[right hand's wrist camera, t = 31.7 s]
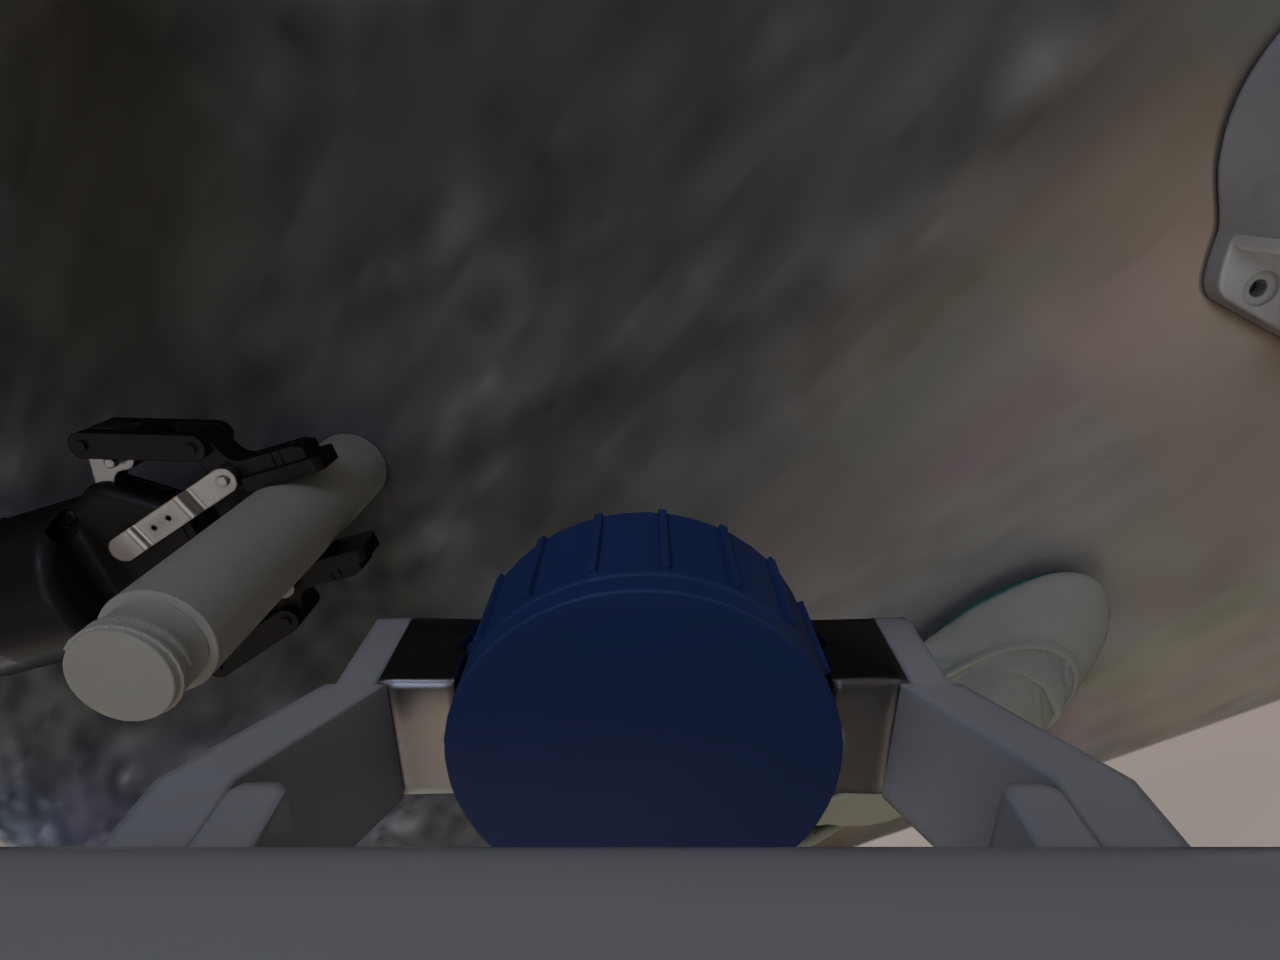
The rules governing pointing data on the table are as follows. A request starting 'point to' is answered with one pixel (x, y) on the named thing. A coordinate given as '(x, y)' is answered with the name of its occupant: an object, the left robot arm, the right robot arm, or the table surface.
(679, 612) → the lid
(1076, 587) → the ballet flat
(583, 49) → the table surface
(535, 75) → the table surface
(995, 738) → the right robot arm
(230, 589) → the bottle
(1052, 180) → the table surface
